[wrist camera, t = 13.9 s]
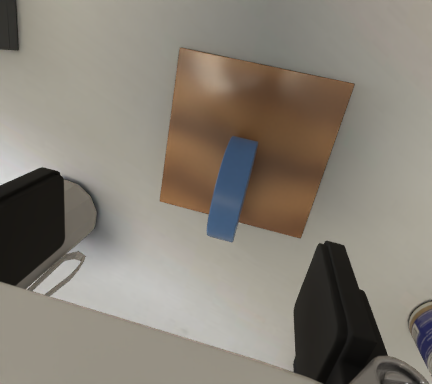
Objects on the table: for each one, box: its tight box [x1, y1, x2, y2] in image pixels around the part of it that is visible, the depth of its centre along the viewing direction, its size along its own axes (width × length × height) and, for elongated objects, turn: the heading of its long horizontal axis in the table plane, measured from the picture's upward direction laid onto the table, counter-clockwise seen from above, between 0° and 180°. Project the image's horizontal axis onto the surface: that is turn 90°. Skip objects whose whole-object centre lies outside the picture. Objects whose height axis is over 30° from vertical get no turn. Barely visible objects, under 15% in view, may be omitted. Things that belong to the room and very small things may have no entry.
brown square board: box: [160, 47, 355, 238], centre depth 27 cm, size 14×14×1 cm
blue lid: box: [207, 136, 258, 242], centre depth 24 cm, size 8×2×8 cm, turn 169°
